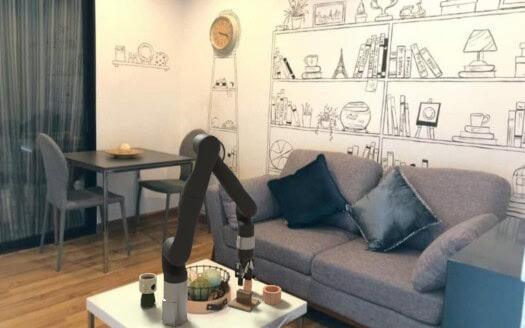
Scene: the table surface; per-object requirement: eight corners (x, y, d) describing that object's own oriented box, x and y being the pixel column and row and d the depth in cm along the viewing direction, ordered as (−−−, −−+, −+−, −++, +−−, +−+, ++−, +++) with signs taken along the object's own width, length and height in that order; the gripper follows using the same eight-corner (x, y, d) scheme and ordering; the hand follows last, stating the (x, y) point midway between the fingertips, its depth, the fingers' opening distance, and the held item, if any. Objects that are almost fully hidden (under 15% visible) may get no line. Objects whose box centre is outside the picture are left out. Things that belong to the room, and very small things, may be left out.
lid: (248, 311, 180) (249, 298, 179) (227, 306, 184) (228, 293, 183) (259, 301, 189) (259, 289, 188) (239, 296, 193) (239, 284, 192)
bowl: (276, 307, 185) (276, 294, 185) (259, 303, 189) (259, 290, 188) (283, 299, 193) (284, 287, 192) (267, 295, 196) (267, 283, 195)
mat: (249, 314, 179) (249, 312, 179) (226, 307, 184) (226, 306, 184) (260, 303, 189) (260, 301, 189) (238, 297, 194) (238, 295, 194)
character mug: (151, 312, 177) (151, 282, 175) (135, 311, 178) (134, 281, 176) (160, 300, 188) (160, 271, 186) (144, 299, 189) (144, 270, 187)
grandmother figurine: (241, 295, 196) (242, 268, 194) (238, 291, 199) (239, 265, 197) (257, 292, 199) (258, 266, 197) (254, 289, 202) (255, 263, 200)
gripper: (245, 239, 190) (245, 273, 193) (229, 249, 177) (229, 286, 180) (261, 241, 187) (260, 277, 190) (245, 252, 174) (245, 290, 177)
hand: (245, 281), depth 185 cm, fingers open, 8 cm apart
